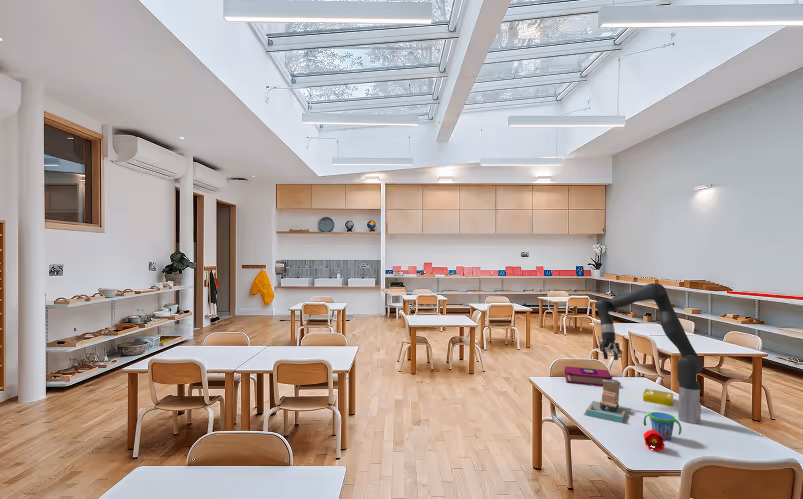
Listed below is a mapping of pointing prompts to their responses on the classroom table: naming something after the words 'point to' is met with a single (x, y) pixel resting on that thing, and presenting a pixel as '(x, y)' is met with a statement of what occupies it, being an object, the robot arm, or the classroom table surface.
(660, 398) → the element tile
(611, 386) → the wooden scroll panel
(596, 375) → the book
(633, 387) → the classroom table surface
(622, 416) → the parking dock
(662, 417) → the snack cup
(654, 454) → the classroom table surface
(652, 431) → the flower
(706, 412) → the classroom table surface
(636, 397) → the classroom table surface
